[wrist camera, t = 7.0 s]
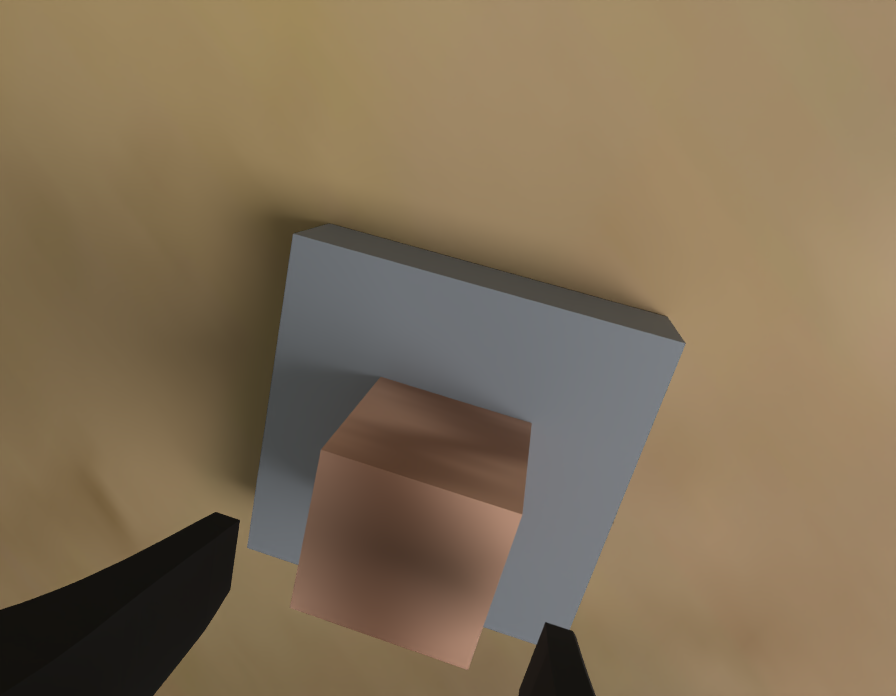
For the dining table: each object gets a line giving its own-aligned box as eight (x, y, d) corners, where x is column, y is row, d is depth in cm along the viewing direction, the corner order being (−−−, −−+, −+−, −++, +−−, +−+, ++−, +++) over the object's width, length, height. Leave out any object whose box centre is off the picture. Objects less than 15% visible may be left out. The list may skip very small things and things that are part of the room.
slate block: (667, 316, 19) (685, 343, 17) (560, 593, 24) (559, 652, 21) (329, 223, 21) (293, 233, 18) (282, 503, 25) (247, 547, 22)
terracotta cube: (531, 423, 18) (522, 514, 14) (489, 549, 20) (467, 670, 15) (380, 376, 19) (320, 449, 14) (351, 504, 20) (289, 607, 16)
